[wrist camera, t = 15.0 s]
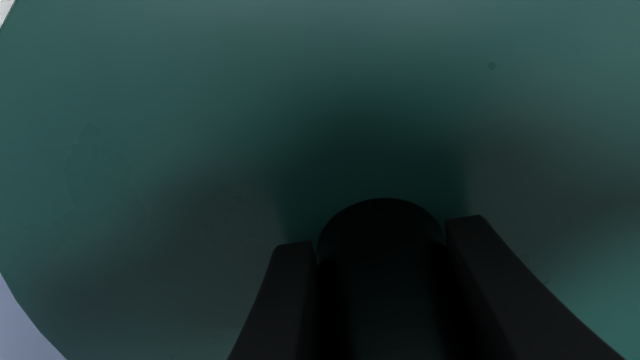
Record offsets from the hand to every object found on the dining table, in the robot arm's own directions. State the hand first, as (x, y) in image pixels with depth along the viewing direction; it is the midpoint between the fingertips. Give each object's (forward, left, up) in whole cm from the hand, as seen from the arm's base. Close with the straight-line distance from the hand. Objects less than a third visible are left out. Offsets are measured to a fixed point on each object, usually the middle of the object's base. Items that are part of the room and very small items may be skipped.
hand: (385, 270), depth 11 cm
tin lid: (0, 0, -1) cm, 1 cm away
